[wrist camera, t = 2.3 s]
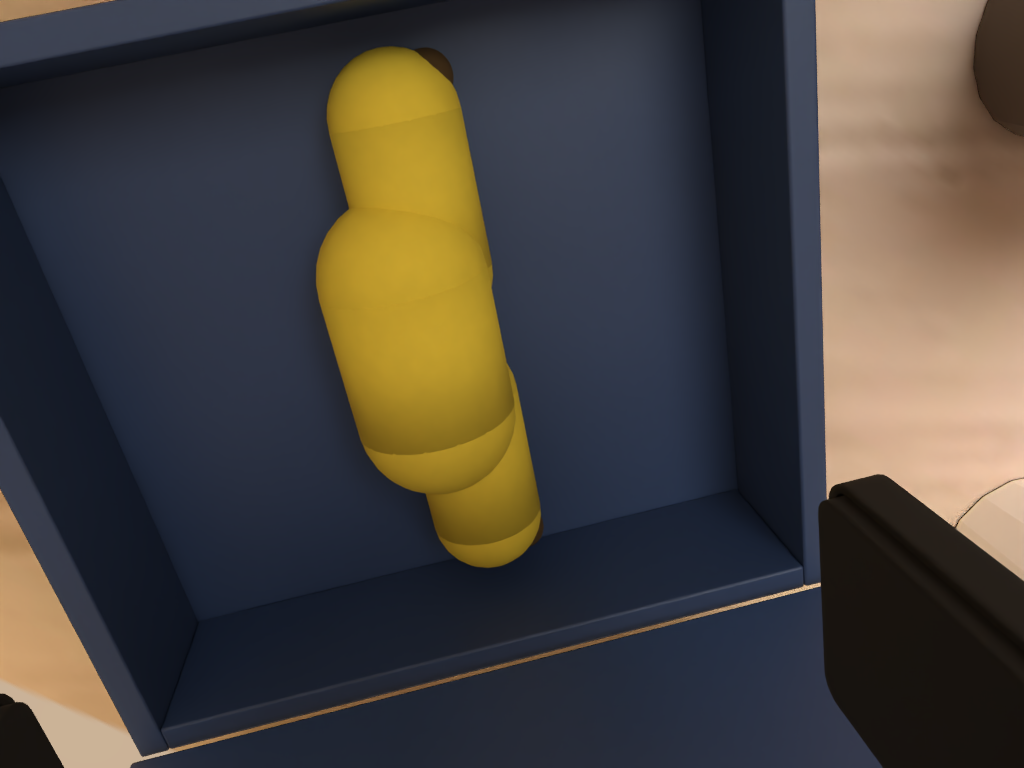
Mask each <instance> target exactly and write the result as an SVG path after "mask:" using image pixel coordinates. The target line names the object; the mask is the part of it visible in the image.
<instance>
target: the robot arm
mask: <svg viewBox="0 0 1024 768" xmlns="http://www.w3.org/2000/svg"><path fill="white" fill-rule="evenodd" d="M818 523H819V548H820V573H821V598H822V623H823V648H824V671H825V678H826V682H827V685H828V688H829V690H830V693H831V695H832V697H833V699H834V701H835V702H836V704H837V705H838V707H839V708H840V709H841V711H842V712H843V714H844V715H845V716H846V718H847V719H848V720H849V722H850V723H851V725H852V726H853V727H854V729H855V730H856V731H857V733H858V734H859V735H860V737H861V738H862V740H863V741H864V742H865V744H866V745H867V746H868V748H869V749H870V751H871V752H872V753H873V755H874V756H875V757H876V759H877V760H878V761H879V763H880V764H881V766H882V767H883V768H1024V581H1023V580H1022V579H1021V578H1019V577H1018V576H1017V575H1015V574H1014V573H1013V572H1011V571H1010V570H1009V569H1008V568H1006V567H1005V566H1004V565H1002V564H1001V563H1000V562H998V561H997V560H996V559H995V558H993V557H992V556H991V555H989V554H988V553H987V552H985V551H984V550H983V549H981V548H980V547H979V546H978V545H976V544H975V543H974V542H972V541H971V540H970V539H968V538H967V537H966V536H965V535H963V534H962V533H961V532H959V531H958V530H957V529H955V528H954V527H953V526H951V525H950V524H949V523H948V522H946V521H945V520H944V519H942V518H941V517H940V516H938V515H937V514H936V513H935V512H933V511H932V510H931V509H929V508H928V507H927V506H925V505H924V504H923V503H921V502H920V501H919V500H918V499H916V498H915V497H914V496H912V495H911V494H910V493H908V492H907V491H906V490H905V489H903V488H902V487H901V486H899V485H898V484H897V483H895V482H894V481H893V480H891V479H890V478H888V477H887V476H885V475H878V474H877V475H873V476H869V477H865V478H861V479H857V480H853V481H849V482H845V483H841V484H837V485H835V486H833V487H832V488H831V491H830V493H829V499H828V500H824V501H822V502H821V503H820V505H819V507H818ZM0 768H64V767H63V765H62V763H61V761H60V759H59V758H58V756H57V754H56V753H55V751H54V749H53V747H52V745H51V743H50V742H49V740H48V738H47V737H46V735H45V733H44V731H43V729H42V728H41V726H40V724H39V722H38V721H37V719H36V717H35V715H34V714H33V712H32V710H31V709H30V708H29V706H28V705H26V704H24V703H23V702H16V703H15V701H14V700H13V699H12V698H11V697H9V696H8V695H6V694H0Z"/></svg>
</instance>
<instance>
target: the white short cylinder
mask: <svg viewBox="0 0 1024 768" xmlns="http://www.w3.org/2000/svg"><path fill="white" fill-rule="evenodd" d="M955 529H957V530H958V531H959V532H961V533H962V534H963V535H965V536H966V537H967V538H968V539H970V540H971V541H972V542H974V543H975V544H976V545H978V546H979V547H980V548H981V549H983V550H984V551H985V552H987V553H988V554H989V555H991V556H992V557H993V558H995V559H996V560H997V561H998V562H1000V563H1001V564H1002V565H1004V566H1005V567H1006V568H1008V569H1009V570H1010V571H1011V572H1013V573H1014V574H1015V575H1017V576H1018V577H1019V578H1021V579H1022V580H1023V581H1024V479H1019V480H1014V481H1011V482H1009V483H1007V484H1005V485H1003V486H1002V487H1000V488H998V489H996V490H994V491H993V492H991V493H989V494H987V495H985V496H984V497H982V498H981V499H980V500H979V501H978V502H977V503H976V504H975V505H974V506H973V507H972V508H971V509H970V510H969V511H968V512H967V513H966V514H965V515H964V516H963V517H962V518H961V519H960V521H959V523H958V525H957V527H956V528H955Z"/></svg>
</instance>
